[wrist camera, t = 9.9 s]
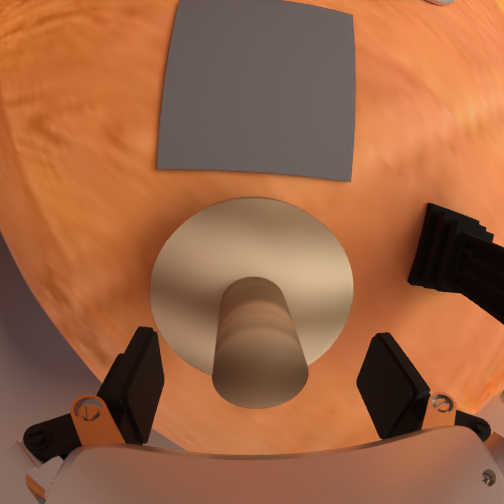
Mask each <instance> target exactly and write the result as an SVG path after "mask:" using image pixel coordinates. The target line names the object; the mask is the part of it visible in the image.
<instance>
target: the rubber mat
mask: <svg viewBox="0 0 504 504" xmlns="http://www.w3.org/2000/svg"><path fill="white" fill-rule="evenodd" d="M355 89H356V83H355V44H354V27H353V15H351V14H347V13H343V12H340V11H336V10H332V9H327V8H323V7H318V6H313V5H308V4H302V3H296V2H290V1H283V0H179V4H178V8H177V13H176V17H175V22H174V27H173V32H172V37H171V43H170V48H169V54H168V60H167V67H166V74H165V81H164V89H163V97H162V106H161V117H160V128H159V142H158V159H157V169H194V170H226V171H246V172H261V173H274V174H286V175H297V176H306V177H315V178H324V179H332V180H340V181H347V182H351V174H352V162H353V148H354V129H355Z"/></svg>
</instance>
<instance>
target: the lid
mask: <svg viewBox="0 0 504 504" xmlns="http://www.w3.org/2000/svg"><path fill="white" fill-rule="evenodd" d="M149 290H150V305H151V310H152V314H153V317H154V320H155V323H156V325H157V327H158V330H159V332H160V334H161V335H162V337H163V338H164V340H165V341H166V343H167V344H168V345H169V346H170V347H171V349H172V350H173V351H174V352H175V353H176V354H177V355H178V356H179V357H181V358H182V359H183V360H184V361H185V362H187V363H188V364H190V365H191V366H193V367H194V368H196V369H198V370H200V371H202V372H204V373H206V374H209V375H211V376H212V381H213V385H214V387H215V389H216V391H217V392H218V394H219V395H220V396H221V397H222V398H224V399H225V400H226V401H228V402H230V403H232V404H234V405H237V406H240V407H244V408H250V409H264V408H270V407H275V406H278V405H281V404H283V403H285V402H287V401H289V400H291V399H292V398H294V397H295V396H296V395H297V394H298V393H299V392H300V391H301V390H302V389H303V387H304V386H305V384H306V382H307V379H308V365H310V364H311V363H313V362H314V361H316V360H317V359H318V358H319V357H321V356H322V355H323V354H324V353H325V352H326V351H327V350H328V349H329V348H330V347H331V346H332V344H333V343H334V342H335V341H336V339H337V338H338V336H339V335H340V333H341V332H342V330H343V328H344V326H345V324H346V321H347V319H348V317H349V313H350V310H351V306H352V300H353V277H352V271H351V267H350V264H349V260H348V258H347V256H346V253H345V251H344V249H343V247H342V246H341V244H340V243H339V241H338V240H337V238H336V237H335V236H334V235H333V233H332V232H331V231H330V230H329V229H328V228H327V227H326V226H325V225H324V224H322V223H321V222H320V221H319V220H318V219H316V218H315V217H313V216H312V215H310V214H309V213H307V212H306V211H304V210H302V209H301V208H299V207H296V206H294V205H292V204H289V203H287V202H283V201H280V200H276V199H271V198H264V197H241V198H234V199H229V200H225V201H222V202H218V203H215V204H213V205H211V206H209V207H206V208H204V209H202V210H201V211H199V212H197V213H196V214H194V215H193V216H191V217H190V218H189V219H188V220H186V221H185V222H184V223H183V224H182V225H181V226H180V227H179V228H178V229H177V230H176V231H175V232H174V233H173V234H172V235H171V236H170V238H169V239H168V240H167V241H166V243H165V244H164V246H163V247H162V249H161V251H160V252H159V255H158V257H157V259H156V261H155V263H154V267H153V270H152V274H151V280H150V288H149Z"/></svg>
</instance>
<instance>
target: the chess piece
mask: <svg viewBox="0 0 504 504" xmlns="http://www.w3.org/2000/svg"><path fill="white" fill-rule="evenodd" d="M493 237H494V234H492V233H489V232H487V231H486V227H484V226H481V225H479V221H477V220H475V219H473V218H470V217H467V216H465V215H462V214H460V213H457V212H454V211H452V210H449V209H446V208H443V207H441V206H438V205H435V204H432V203H428V207H427V211H426V216H425V220H424V225H423V229H422V233H421V237H420V241H419V245H418V248H417V252H416V256H415V259H414V262H413V266H412V269H411V272H410V275H409V279H408V283H410V284H411V285H417V286H422V287H424V288H429V289H436V290H437V291H441V292H451V293H461V294H463V295H464V296H466V297H467V298H468V299H470V300H471V301H473V302H474V303H475V304H477V305H478V306H480V307H481V308H482V309H484V310H485V311H486V312H488V313H489V314H490V315H492V316H493V317H494V318H496V319H497V320H498V321H500V322H501V323H502V324H503V325H504V247H502V246H499V245H497V244H495V243H492V241H493Z"/></svg>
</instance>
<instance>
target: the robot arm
mask: <svg viewBox="0 0 504 504" xmlns="http://www.w3.org/2000/svg"><path fill="white" fill-rule="evenodd" d="M427 1H429V2H431V3H434V4H437V5H443V6H446V5H450V4H451V3H453V2H454V1H455V0H427ZM163 386H164V373H163V367H162V361H161V355H160V348H159V341H158V334H157V332H155V331H153V328H150V327H141V326H139V327H138V329H137V330H136V332H135V334H134V336H133V338H132V340H131V341H130V343H129V345H128V347H127V349H126V351H125V352H124V354H121V353H120V354H119V355H118V356H117V358H116V359H115V361H114V363H113V365H112V367H111V369H110V370H109V372H108V374H107V376H106V378H105V380H104V382H103V384H102V385H101V387H100V390H99V392H98V393H97V395H96V396H94V395H83V396H81V397H79V398H77V399H76V400H74V401H73V403H72V404H71V408H70V413H69V414H66V415H64V416H61V417H57V418H54V419H51V420H48V421H45V422H42V423H39V424H35V425H33V426H31V427H29V428H28V429H27V430H26V432H25V433H24V437H23V440H24V441H22V442H21V443H20V442H19V441H16V442H15V443H13V444H12V445H10V446H9V447H7V448H6V449H4V450H2V451H1V452H0V498H1V499H2V501H3V502H4V504H504V438H503V437H502V436H500V435H499V434H497V433H495V432H493V433H492V434H491V428H490V425H489V424H488V423H487V422H486V421H485V420H484V419H481V418H479V417H475V416H473V415H470V414H467V413H464V412H461V411H458V410H456V402H455V400H454V399H453V398H452V397H451V396H450V395H449V394H446V393H444V392H436V393H433V394H432V395H430V393H429V392H430V388H429V387H428V385H427V384H426V382H425V381H424V379H423V378H422V377H421V375H420V374H419V372H418V371H417V369H416V368H415V367H414V365H413V364H412V362H411V361H410V360H409V358H408V357H407V356H406V354H405V353H404V351H403V350H402V349H401V347H400V346H399V345H398V343H397V342H396V341H395V339H394V338H393V337H392V335H391V334H390V333H388V332H386V333H377V334H376V335H375V336H374V337H373V338H372V340H371V343H370V346H369V349H368V351H367V354H366V357H365V360H364V362H363V365H362V367H361V370H360V373H359V375H358V378H357V387H358V389H359V392H360V394H361V396H362V398H363V401H364V403H365V405H366V407H367V410H368V412H369V414H370V416H371V419H372V421H373V423H374V426H375V428H376V430H377V433H378V435H379V437H380V438H381V439H383V440H380V441H376V442H371V443H366V444H362V445H356V446H351V447H345V448H339V449H332V450H325V451H317V452H307V453H296V454H279V455H225V454H209V453H197V452H187V451H178V450H170V449H163V448H157V447H150V446H143V443H145V444H146V443H147V442H148V438H149V435H150V431H151V427H152V424H153V420H154V417H155V413H156V410H157V406H158V403H159V399H160V396H161V392H162V389H163ZM52 480H54V481H53V482H52ZM51 484H52V485H51ZM50 485H51V488H50V491H49V494H48V496H47V499H45V490H46V489H47V488H48V486H50Z"/></svg>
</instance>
